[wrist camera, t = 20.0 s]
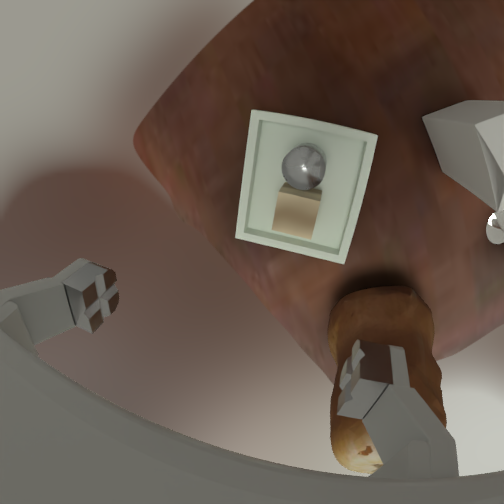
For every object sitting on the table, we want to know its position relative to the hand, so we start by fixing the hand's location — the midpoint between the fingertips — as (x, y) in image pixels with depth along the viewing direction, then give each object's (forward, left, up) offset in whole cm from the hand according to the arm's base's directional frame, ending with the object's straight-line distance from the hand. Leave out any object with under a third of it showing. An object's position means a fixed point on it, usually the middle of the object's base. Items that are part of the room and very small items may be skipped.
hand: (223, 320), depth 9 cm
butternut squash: (+17, +14, -29) cm, 37 cm away
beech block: (+5, 0, -28) cm, 29 cm away
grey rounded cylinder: (0, 0, -28) cm, 28 cm away
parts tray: (+3, 0, -29) cm, 29 cm away
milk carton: (-8, +17, -29) cm, 35 cm away
